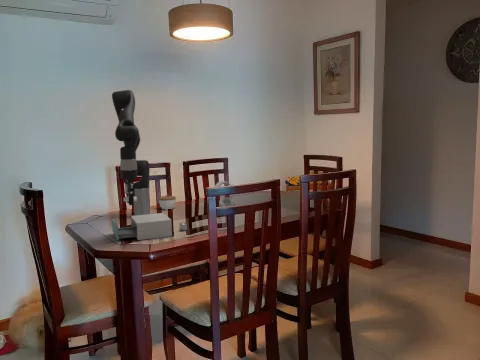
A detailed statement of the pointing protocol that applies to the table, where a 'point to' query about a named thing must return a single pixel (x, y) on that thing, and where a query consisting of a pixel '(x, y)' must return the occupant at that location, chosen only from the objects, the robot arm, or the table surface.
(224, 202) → the headphones
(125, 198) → the disc
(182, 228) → the stand
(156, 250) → the table surface
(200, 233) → the table surface
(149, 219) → the housing
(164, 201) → the lidded jar
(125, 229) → the grey drawer
